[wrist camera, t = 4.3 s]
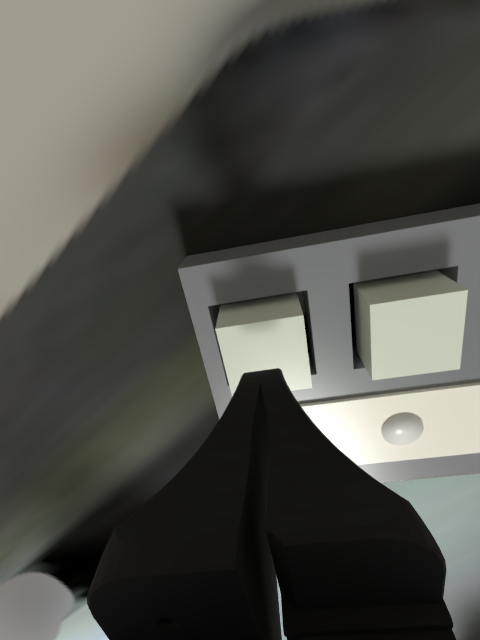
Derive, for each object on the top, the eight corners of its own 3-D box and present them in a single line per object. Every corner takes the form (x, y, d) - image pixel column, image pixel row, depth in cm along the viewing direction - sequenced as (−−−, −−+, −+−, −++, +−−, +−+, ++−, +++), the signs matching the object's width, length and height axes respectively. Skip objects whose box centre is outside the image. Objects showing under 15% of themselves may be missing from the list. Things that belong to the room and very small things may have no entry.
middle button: (436, 270, 15) (468, 289, 12) (432, 340, 16) (460, 369, 14) (353, 283, 15) (370, 304, 13) (356, 350, 16) (371, 380, 14)
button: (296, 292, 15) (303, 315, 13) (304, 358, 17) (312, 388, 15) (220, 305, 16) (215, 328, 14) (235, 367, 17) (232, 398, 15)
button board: (613, 179, 14) (677, 183, 12) (547, 436, 20) (581, 468, 18) (186, 256, 16) (176, 271, 14) (241, 467, 22) (240, 500, 20)
